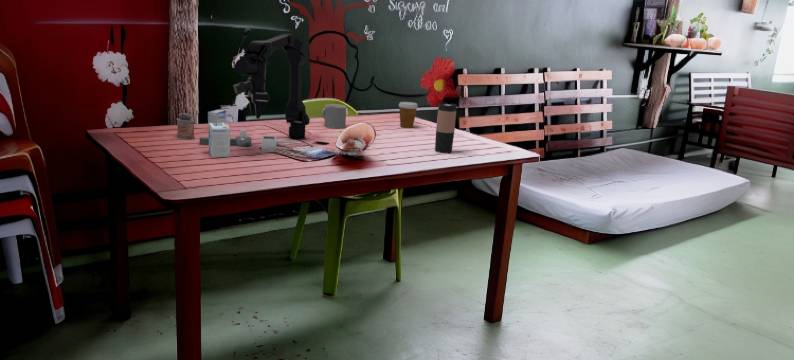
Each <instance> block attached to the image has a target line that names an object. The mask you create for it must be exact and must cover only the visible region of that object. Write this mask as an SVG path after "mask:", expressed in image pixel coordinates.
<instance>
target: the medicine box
mask: <svg viewBox="0 0 794 360" xmlns="http://www.w3.org/2000/svg"><path fill="white" fill-rule="evenodd" d="M207 121H208V122H207V124H208V130H207V131H209V123H227V110H224V109H215V110H211V111H207Z"/></svg>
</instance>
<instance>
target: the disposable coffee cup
mask: <svg viewBox="0 0 794 360" xmlns="http://www.w3.org/2000/svg"><path fill="white" fill-rule="evenodd" d="M398 107H399V124H400V126H399V127H400V128H401V129H402V128H403V129H413V128H414V125H415V119H416V115H417V110H418V107H419V106H418V103H416V102H412V101H411V102H410V101H399V103H398Z"/></svg>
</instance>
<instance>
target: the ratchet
mask: <svg viewBox="0 0 794 360" xmlns="http://www.w3.org/2000/svg"><path fill="white" fill-rule="evenodd" d="M247 131H248V130H247V129H240V131H239V135H237V136H235V137H230V147H231V146H236V147H240V148H248V147H252V140H253V139H252V137H251V136H247V133H248V132H247ZM198 141H199V146H209V136H208V137H206V136H205V137H201V136H200V137H199V140H198Z"/></svg>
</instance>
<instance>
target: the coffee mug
mask: <svg viewBox="0 0 794 360" xmlns="http://www.w3.org/2000/svg"><path fill="white" fill-rule="evenodd" d="M321 116H322V118H323V120H324V127H325V128H327V129H334V130H341V129H345V128H346V121H347V120H346V119H347V105H344V104H337V103H335V104H334V103H333V104H332V103H331V104H325V106H324V108H323V109H322V111H321Z"/></svg>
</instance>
